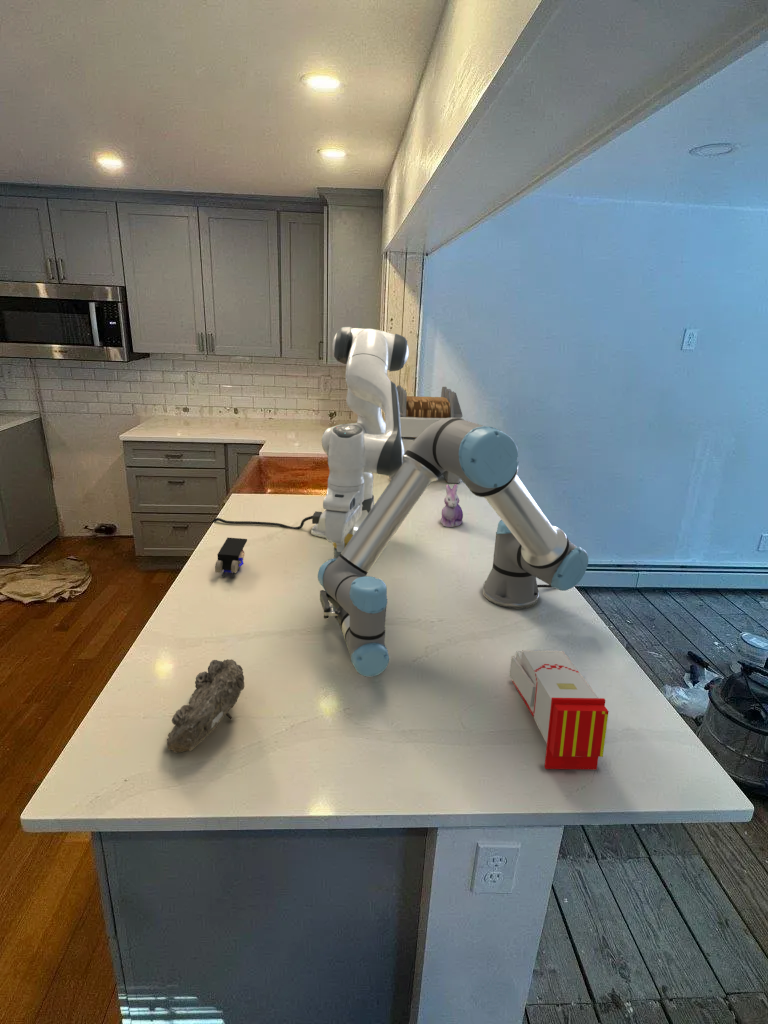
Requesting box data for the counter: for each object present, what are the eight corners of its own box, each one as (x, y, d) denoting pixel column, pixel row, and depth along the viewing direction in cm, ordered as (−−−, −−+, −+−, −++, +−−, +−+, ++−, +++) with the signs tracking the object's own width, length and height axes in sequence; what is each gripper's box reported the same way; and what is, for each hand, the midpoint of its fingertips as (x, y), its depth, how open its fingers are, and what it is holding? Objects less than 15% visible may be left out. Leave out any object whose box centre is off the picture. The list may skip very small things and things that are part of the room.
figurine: (448, 529, 205) (451, 490, 200) (433, 520, 214) (436, 482, 209) (469, 526, 210) (473, 487, 204) (454, 517, 218) (457, 479, 213)
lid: (351, 551, 138) (352, 544, 137) (329, 547, 140) (329, 540, 139) (359, 542, 143) (360, 535, 143) (337, 539, 145) (338, 531, 144)
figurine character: (238, 584, 162) (249, 557, 175) (236, 562, 158) (247, 536, 172) (215, 584, 161) (227, 556, 175) (212, 561, 158) (225, 535, 171)
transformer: (382, 463, 289) (386, 382, 275) (445, 464, 293) (451, 384, 279) (390, 482, 257) (394, 392, 243) (460, 483, 261) (468, 394, 247)
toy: (559, 632, 124) (618, 706, 95) (553, 688, 127) (609, 777, 97) (504, 631, 123) (546, 705, 94) (499, 687, 126) (539, 776, 97)
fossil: (192, 660, 117) (244, 628, 112) (224, 691, 120) (276, 661, 115) (142, 746, 98) (202, 712, 93) (182, 779, 101) (242, 748, 96)
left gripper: (345, 480, 147) (344, 529, 152) (320, 504, 128) (320, 560, 133) (368, 482, 146) (366, 532, 150) (347, 507, 127) (346, 563, 132)
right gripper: (317, 643, 128) (304, 595, 149) (395, 635, 133) (372, 589, 154) (317, 614, 126) (304, 569, 147) (396, 607, 130) (373, 564, 151)
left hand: (344, 545), depth 141 cm, fingers closed on lid, 5 cm apart
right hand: (339, 579), depth 150 cm, fingers closed on jar, 5 cm apart
